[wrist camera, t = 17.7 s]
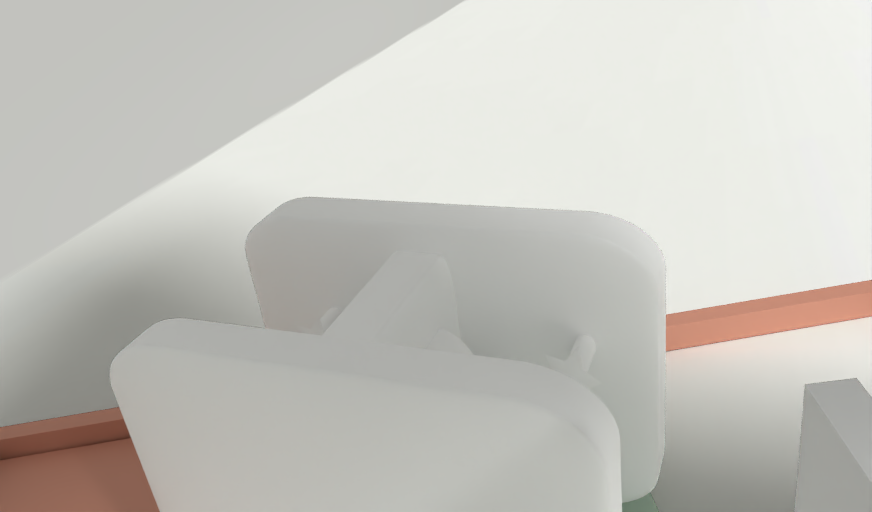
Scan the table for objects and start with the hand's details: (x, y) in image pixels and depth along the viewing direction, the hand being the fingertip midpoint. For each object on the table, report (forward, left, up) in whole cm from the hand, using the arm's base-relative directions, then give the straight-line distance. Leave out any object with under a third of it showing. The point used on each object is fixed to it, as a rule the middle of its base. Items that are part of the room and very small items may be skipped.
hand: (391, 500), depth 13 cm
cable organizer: (0, -11, -14) cm, 18 cm away
